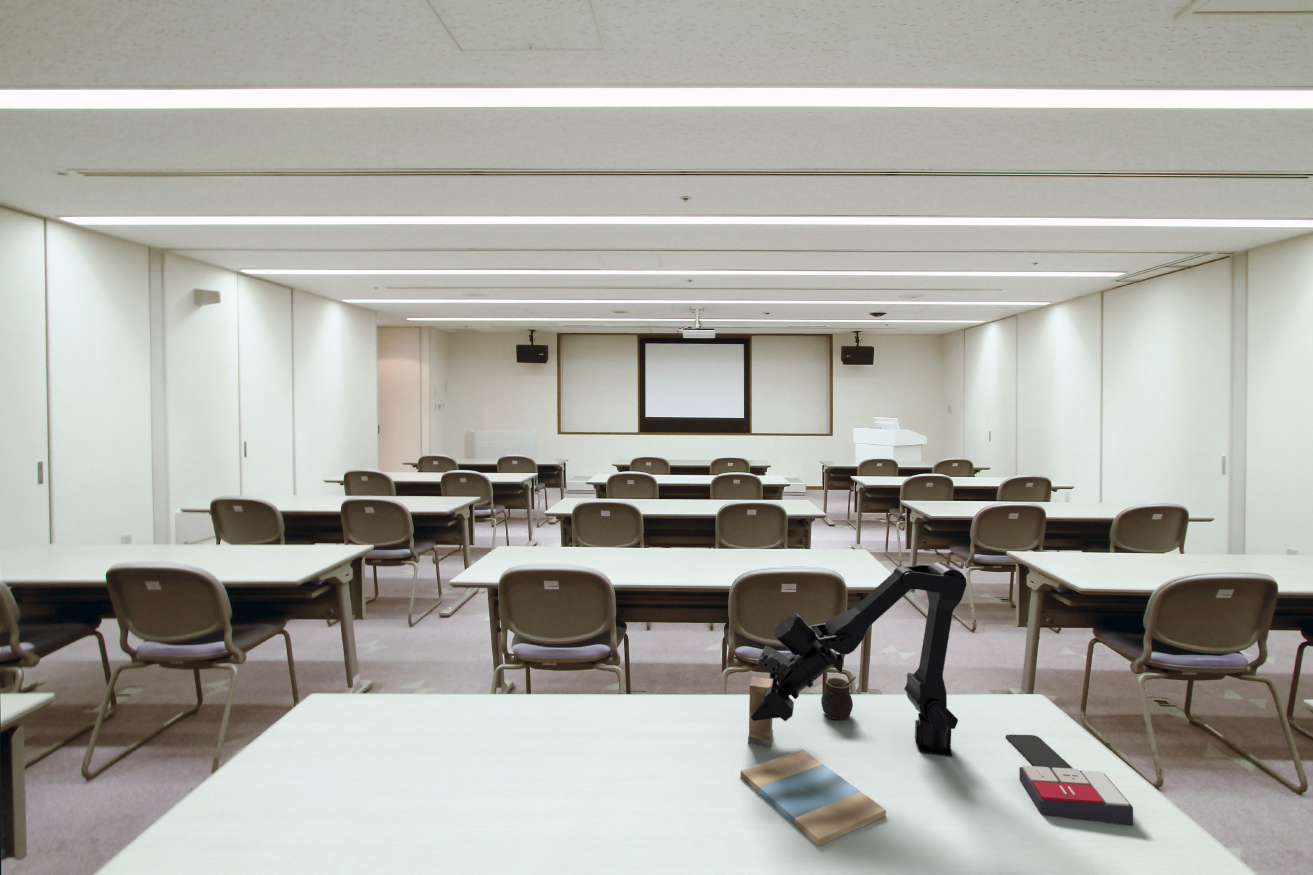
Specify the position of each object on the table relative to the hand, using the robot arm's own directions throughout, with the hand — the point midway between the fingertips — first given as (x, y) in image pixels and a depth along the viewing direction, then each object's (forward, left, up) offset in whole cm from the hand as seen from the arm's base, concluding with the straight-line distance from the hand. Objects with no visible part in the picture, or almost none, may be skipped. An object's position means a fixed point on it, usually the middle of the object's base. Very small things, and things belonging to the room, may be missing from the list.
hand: (754, 709), depth 140 cm
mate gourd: (-17, -16, -7) cm, 25 cm away
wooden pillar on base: (-1, 0, -7) cm, 7 cm away
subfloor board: (-13, +17, -7) cm, 22 cm away
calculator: (-60, +4, -7) cm, 60 cm away
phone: (-58, -11, -7) cm, 60 cm away
